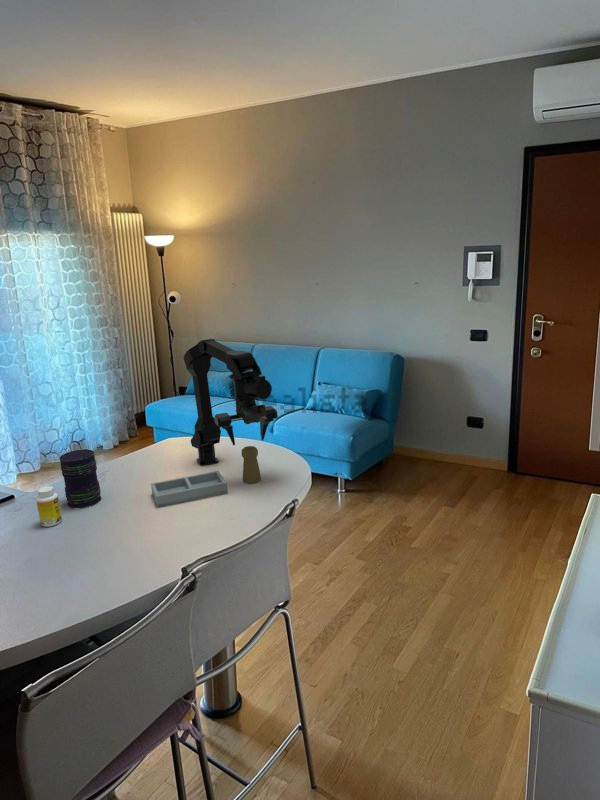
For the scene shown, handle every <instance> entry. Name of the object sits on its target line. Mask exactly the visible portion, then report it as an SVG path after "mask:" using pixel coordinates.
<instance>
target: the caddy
mask: <svg viewBox="0 0 600 800" xmlns="http://www.w3.org/2000/svg"><path fill="white" fill-rule="evenodd" d="M150 487H151V494H152V498H153V500H154V502H155V505H156V508H157V509H158V508H164V507H168V506H173V505H177V504H182V503H188V502H192V501H193V502H194V501H197V500H202V499H207V498H213V497H217V496H218V497H219V496H223V495H226V494H227V495H228V494H229V491H228V483H227V480H226V479H225V477H223V475H222V474H221V472H220V471H219V470H215V471H210V472H203V473H199V474H193V475H188V476H184V477H178V478H173V479H167V480H163V481H156V482H152V483H150Z"/></svg>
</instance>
